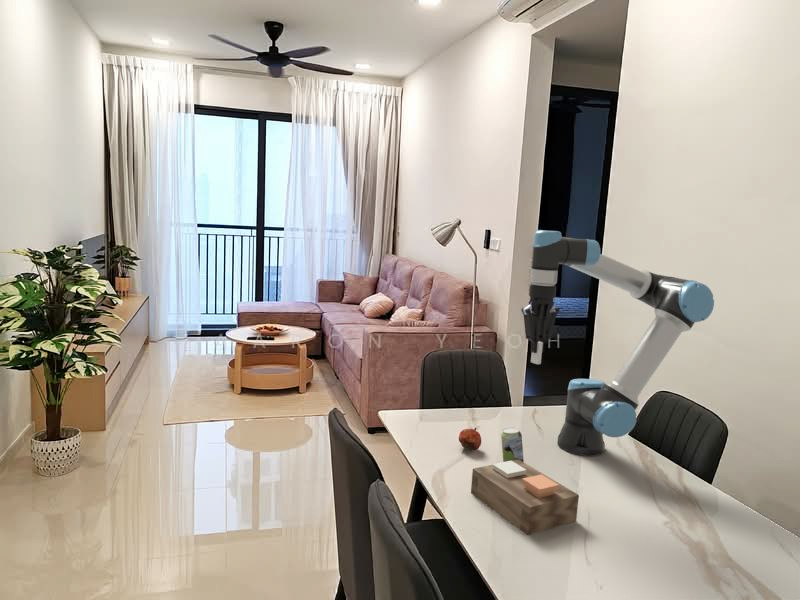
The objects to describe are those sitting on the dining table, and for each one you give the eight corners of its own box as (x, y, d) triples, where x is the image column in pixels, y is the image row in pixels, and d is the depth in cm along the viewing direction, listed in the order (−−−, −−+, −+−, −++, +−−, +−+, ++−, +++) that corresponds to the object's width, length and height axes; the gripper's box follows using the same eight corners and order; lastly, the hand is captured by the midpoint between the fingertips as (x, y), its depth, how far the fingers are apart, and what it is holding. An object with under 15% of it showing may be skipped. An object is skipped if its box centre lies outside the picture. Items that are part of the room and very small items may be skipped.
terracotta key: (538, 503, 156) (541, 474, 155) (556, 514, 151) (559, 484, 150) (519, 508, 153) (522, 478, 152) (536, 519, 148) (539, 489, 147)
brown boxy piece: (516, 482, 171) (518, 459, 170) (576, 521, 152) (578, 495, 150) (470, 492, 163) (472, 468, 162) (527, 534, 144) (530, 507, 143)
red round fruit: (475, 462, 189) (491, 438, 194) (465, 447, 185) (482, 423, 190) (457, 457, 194) (473, 433, 199) (448, 442, 191) (464, 418, 196)
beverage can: (523, 473, 177) (526, 435, 175) (498, 470, 179) (501, 432, 177) (523, 465, 183) (526, 427, 182) (499, 462, 185) (502, 424, 183)
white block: (508, 487, 167) (511, 460, 166) (523, 497, 161) (526, 469, 160) (490, 491, 164) (492, 464, 163) (505, 502, 158) (507, 473, 157)
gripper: (550, 282, 181) (543, 358, 184) (517, 282, 174) (510, 361, 178) (569, 285, 174) (561, 364, 178) (534, 286, 168) (527, 368, 171)
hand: (535, 362), depth 178 cm, fingers closed
